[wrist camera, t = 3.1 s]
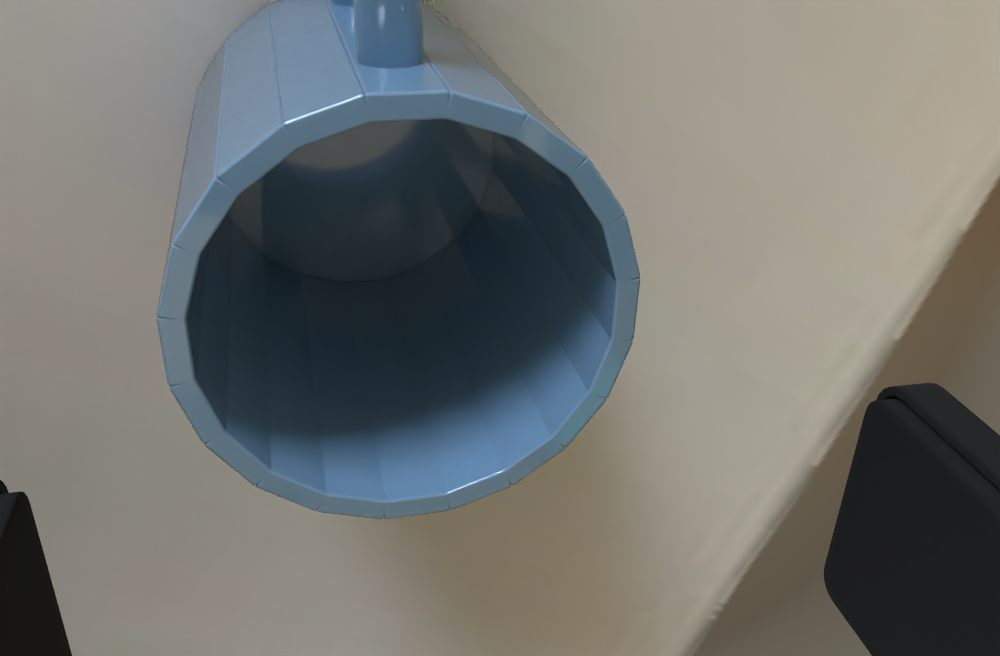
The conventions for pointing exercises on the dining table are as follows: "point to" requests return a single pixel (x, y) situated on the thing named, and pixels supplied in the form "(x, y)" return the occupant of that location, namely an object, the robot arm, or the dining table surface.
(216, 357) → the blue mug
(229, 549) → the dining table surface
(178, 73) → the dining table surface
